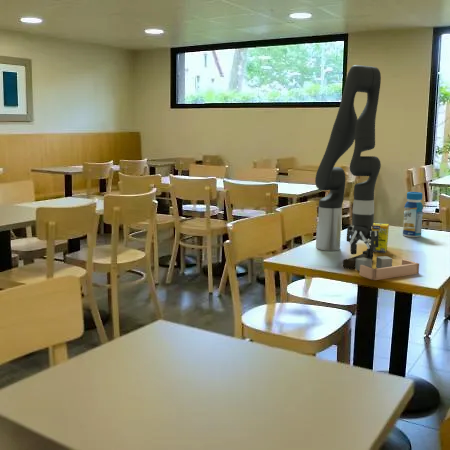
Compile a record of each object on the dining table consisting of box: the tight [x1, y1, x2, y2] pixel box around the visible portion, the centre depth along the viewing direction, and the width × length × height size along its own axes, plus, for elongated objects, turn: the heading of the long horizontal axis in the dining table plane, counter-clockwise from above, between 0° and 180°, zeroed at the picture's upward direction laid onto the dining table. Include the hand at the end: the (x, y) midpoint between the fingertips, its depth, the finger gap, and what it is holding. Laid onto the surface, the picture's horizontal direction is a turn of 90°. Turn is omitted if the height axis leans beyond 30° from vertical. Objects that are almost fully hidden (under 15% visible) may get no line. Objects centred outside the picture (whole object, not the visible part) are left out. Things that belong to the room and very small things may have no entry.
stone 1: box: [354, 257, 373, 272], centre depth 200 cm, size 4×4×4 cm
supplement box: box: [372, 222, 390, 254], centre depth 229 cm, size 6×6×11 cm
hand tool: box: [342, 249, 374, 271], centre depth 207 cm, size 19×4×5 cm, turn 136°
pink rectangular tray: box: [359, 258, 420, 281], centre depth 194 cm, size 7×20×4 cm, turn 117°
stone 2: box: [375, 255, 393, 269], centre depth 202 cm, size 4×4×4 cm
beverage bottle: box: [402, 191, 424, 238], centre depth 261 cm, size 8×8×20 cm
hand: (361, 256), depth 207 cm, fingers open, 8 cm apart
